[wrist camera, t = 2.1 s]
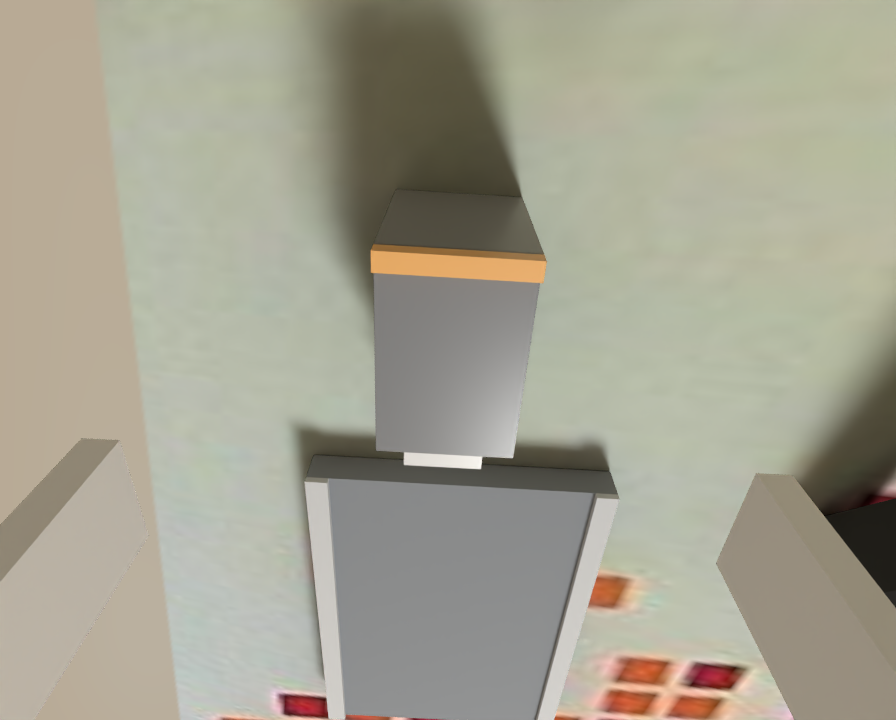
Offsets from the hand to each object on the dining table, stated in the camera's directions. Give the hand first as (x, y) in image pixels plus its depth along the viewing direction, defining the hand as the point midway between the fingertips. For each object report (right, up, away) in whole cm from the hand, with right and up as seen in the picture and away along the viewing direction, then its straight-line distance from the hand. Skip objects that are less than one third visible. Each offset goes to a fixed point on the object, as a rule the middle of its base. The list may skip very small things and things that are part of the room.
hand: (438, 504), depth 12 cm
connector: (0, +5, +10) cm, 11 cm away
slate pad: (0, -10, +19) cm, 22 cm away
